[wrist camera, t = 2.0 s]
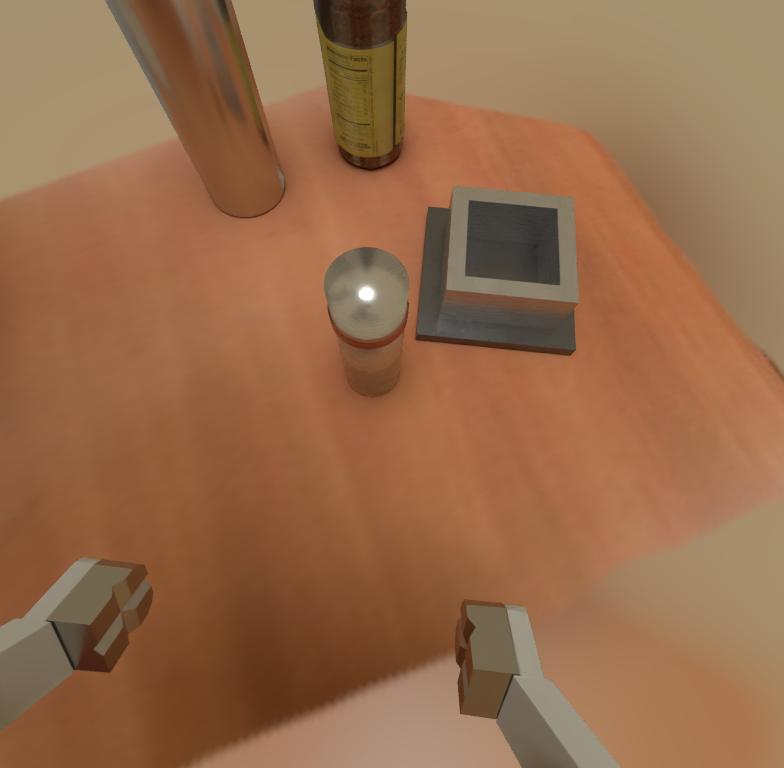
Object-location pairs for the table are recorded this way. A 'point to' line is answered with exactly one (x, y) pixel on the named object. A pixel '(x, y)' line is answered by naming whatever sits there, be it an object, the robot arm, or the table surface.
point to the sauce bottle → (365, 75)
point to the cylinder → (368, 316)
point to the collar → (500, 272)
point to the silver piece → (207, 96)
